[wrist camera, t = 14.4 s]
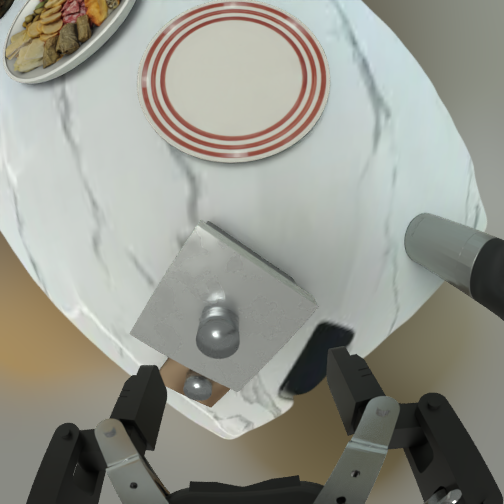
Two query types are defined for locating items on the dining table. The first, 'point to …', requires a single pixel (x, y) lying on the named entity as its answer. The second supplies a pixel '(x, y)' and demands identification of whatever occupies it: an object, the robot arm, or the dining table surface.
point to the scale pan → (222, 295)
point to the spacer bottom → (218, 333)
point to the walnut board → (175, 380)
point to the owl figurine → (5, 6)
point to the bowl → (59, 36)
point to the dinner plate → (233, 81)
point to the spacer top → (197, 386)
